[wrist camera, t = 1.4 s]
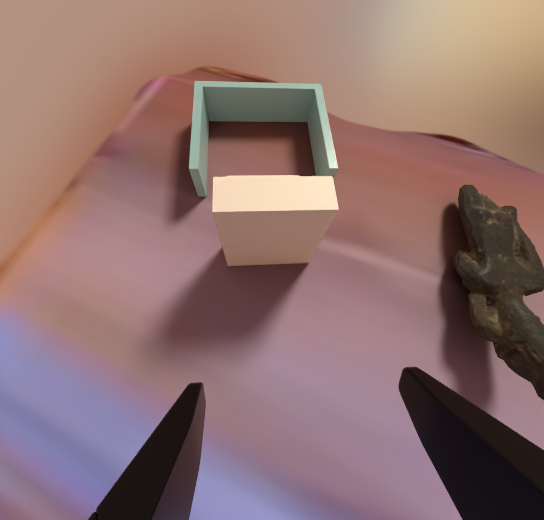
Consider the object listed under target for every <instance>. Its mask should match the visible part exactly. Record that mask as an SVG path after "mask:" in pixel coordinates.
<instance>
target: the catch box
mask: <svg viewBox="0 0 544 520" xmlns="http://www.w3.org/2000/svg"><path fill="white" fill-rule="evenodd" d="M209 121H237V122H307V124H308V130H309V136H310V142H311V149H312V155H313V161H314V168H315V174H316V176H332V177H333V179H334V176H335V174H336V172H337V170H338V165H337V160H336V155H335V150H334V145H333V140H332V135H331V130H330V126H329V121H328V116H327V111H326V106H325V102H324V96H323V91H322V86H321V84H295V83H294V84H293V83H255V82H214V81H195V88H194V102H193V116H192V130H191V144H190V158H189V171H190V174H191V177H192V180H193V183H194V186H195V189H196V192H197V195H198V197H206V193H207V166H208V139H209Z"/></svg>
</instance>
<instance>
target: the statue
mask: <svg viewBox="0 0 544 520" xmlns="http://www.w3.org/2000/svg"><path fill="white" fill-rule="evenodd" d="M458 202H459V212H460V216H461V220H462V224H463V228H464V230H465V233H466V235H467V239H468V244H469V249H470V251H471V253H467V252H465V251H462V250H459V251H458V252H457V254H456V255H455V256H454V266H455V269H456V271H457V273H458V274H459V275H460V277H461V278H462V279H463V282H462V284H463V286H464V287H465V288H466V289H468V290H470V292H471V293H470V294H469V295H468V298H469V305H470V307H469V314H470V318H471V322H472V326H473V328H474V330H475V331H476V333H477V334H478V335H480V336H481V337H483V338H484V339H486V340H489V341H492V342H493V344H494V348H495V352H496V354H497V356H498V357H499V358H500V359H502V360H504V362H505V363H506V364H507V365H508V367H509V368H510V369H511V370H513V371H514V372H515V373H516V374H518V375H519V376H521V377H523V378H524V379H526V380H528V381H530V382H531V383H532V385H533V386H534V388H535V390H536V393H537V395H538V396H539V397H540V398H541V399H543V400H544V325H543V324H542V322H541V321H540V318H539V317H537V316H536V315H534V313H533V312H532V311H531V310H529V308H528V307H527V306H526V305H525V304H524V302H523V295H525V296H528V295H531V294H534V293H538V292H541V291H543V289H544V268H543V265H542V262H541V260H540V257H539V255H538V254H537V252H536V250H535V246H534V245H533V244H532V242H531V240H530V239H529V238H528V237H527V235H526V234H525V233H524V231H523V230H522V229H521V228H520V226H519V223H518V222H517V209H516V208H515V207H513V206H503V207H499V206H497V205H496V204H495V203H494V202H493V201H492V200H490V199H489V198H488V197H486V196H484V195H483V194H479V193H478V191H477V189H476V188H475V187H474V186H473V185H464V186H462V187H461V188H460V190H459V197H458ZM517 257H518V258H517ZM489 299H490V301H491V304H490V305H486V301H487V300H489Z"/></svg>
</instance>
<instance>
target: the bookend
mask: <svg viewBox="0 0 544 520" xmlns="http://www.w3.org/2000/svg"><path fill="white" fill-rule="evenodd" d="M338 210H339V209H338V203H337V198H336V193H335V187H334V182H333V177H332V176H300V175H282V176H227V177H213V215H214V219H215V222H216V226H217V230H218V233H219V237H220V240H221V244H222V247H223V251H224V255H225V258H226V262H227V265H228V266H240V265H267V264H294V263H309V262H310V260H311V258H312V256H313V255H314V253H315V251H316V249H317V247H318V246H319V244H320V242H321V240H322V238H323V237H324V235H325V233H326V231H327V229H328V228H329V226H330V224H331V222H332V221H333V219H334V217H335V215H336V213H337V212H338Z"/></svg>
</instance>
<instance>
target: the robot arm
mask: <svg viewBox="0 0 544 520" xmlns="http://www.w3.org/2000/svg"><path fill="white" fill-rule="evenodd" d="M399 391H400V394H401V396H402V399H403V401H404V403H405V406H406V408H407V410H408V413H409V415H410V417H411V420H412V422H413V424H414V427H415V429H416V432H417V434H418V436H419V438H420V440H421V442H422V444H423V446H424V448H425V450H426V452H427V454H428V456H429V458H430V459H431V461H432V463H433V465H434V467H435V469H436V471H437V473H438V474H439V476H440V478H441V480H442V482H443V484H444V486H445V488H446V489H447V491H448V493H449V495H450V497H451V499H452V501H453V503H454V504H455V506H456V508H457V510H458V512H459V514H460V516H461V517H462V519H463V520H544V450H543V449H541V448H540V447H538V446H537V445H535V444H533V443H532V442H530V441H529V440H527V439H526V438H524V437H523V436H521V435H520V434H518V433H517V432H515V431H514V430H512V429H511V428H509V427H508V426H506V425H505V424H503V423H501V422H500V421H498V420H497V419H495V418H494V417H492V416H491V415H489V414H488V413H486V412H485V411H483V410H482V409H480V408H479V407H477V406H476V405H474V404H473V403H471V402H469V401H468V400H466V399H465V398H463V397H462V396H460V395H459V394H457V393H456V392H454V391H453V390H451V389H450V388H448V387H447V386H445V385H444V384H442V383H441V382H439V381H437V380H436V379H434V378H433V377H431V376H430V375H428V374H427V373H425V372H424V371H422V370H421V369H419V368H417V367H405V368H404V369H403V370H402V374H401V378H400V381H399ZM205 407H206V401H205V393H204V386H203V383H201V382H199V383H190V384H189V385H188V386H187V387H186V388H185V390H184V391H183V392H182V394H181V395H180V397H179V398H178V399H177V401H176V402H175V403H174V405H173V406H172V407H171V409H170V410H169V411H168V413H167V414H166V415H165V417H164V418H163V419H162V421H161V422H160V423H159V425H158V426H157V428H156V429H155V430H154V432H153V433H152V434H151V436H150V437H149V438H148V440H147V441H146V442H145V444H144V445H143V446H142V448H141V449H140V450H139V452H138V453H137V455H136V456H135V457H134V459H133V460H132V461H131V463H130V464H129V465H128V467H127V468H126V469H125V471H124V472H123V473H122V475H121V476H120V477H119V479H118V480H117V481H116V483H115V484H114V486H113V487H112V488H111V490H110V491H109V492H108V494H107V495H106V496H105V498H104V499H103V500H102V502H101V503H100V504H99V506H98V507H97V509H96V512H94V513H93V514H92V515H91V516H90V518H89V519H88V520H189V516H190V511H191V506H192V501H193V496H194V491H195V486H196V481H197V476H198V471H199V465H200V458H201V448H202V438H203V428H204V418H205Z"/></svg>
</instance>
